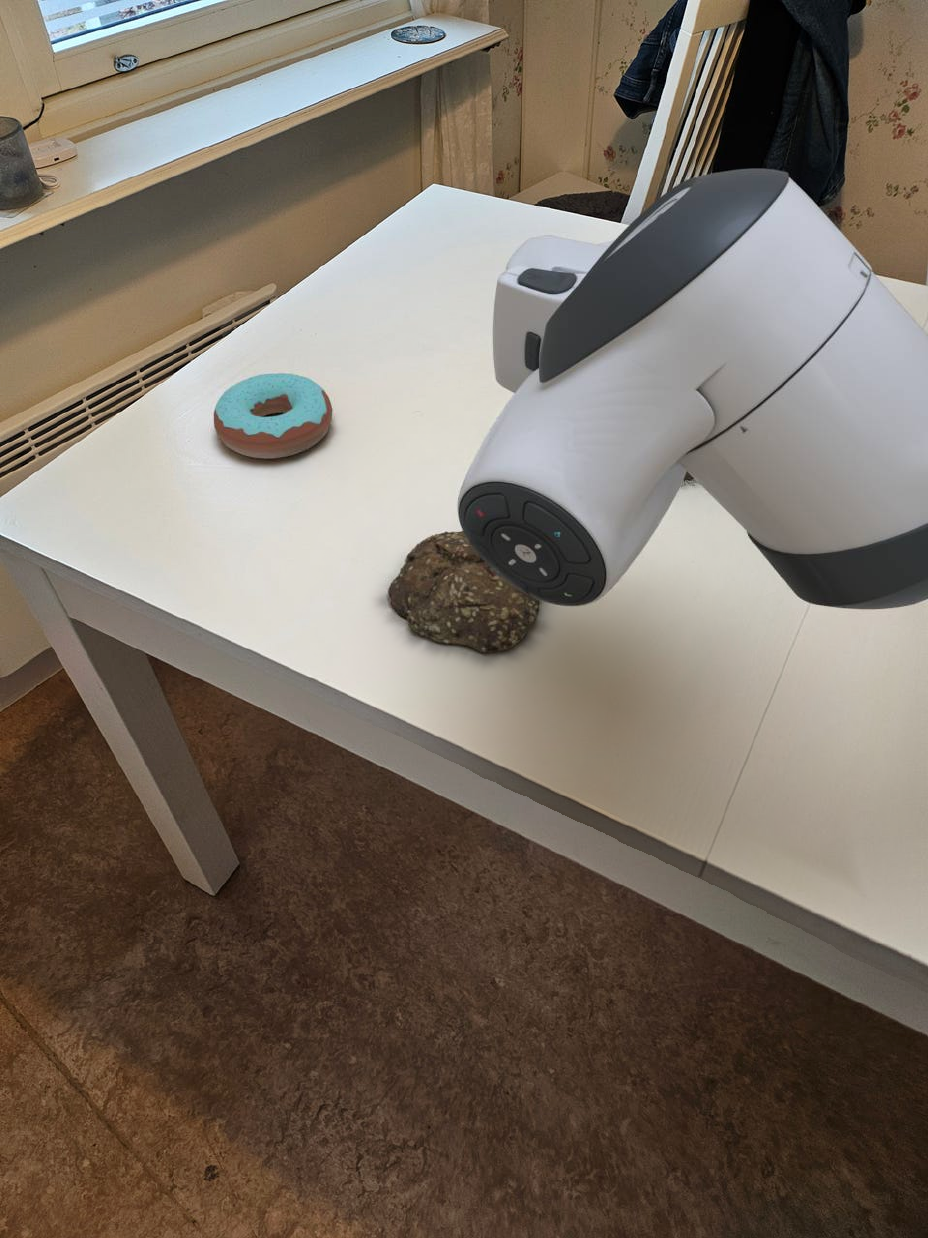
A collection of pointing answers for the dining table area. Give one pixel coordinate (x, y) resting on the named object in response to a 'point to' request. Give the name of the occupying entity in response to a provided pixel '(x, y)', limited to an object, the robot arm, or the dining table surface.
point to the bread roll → (460, 596)
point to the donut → (275, 434)
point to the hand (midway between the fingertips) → (713, 257)
